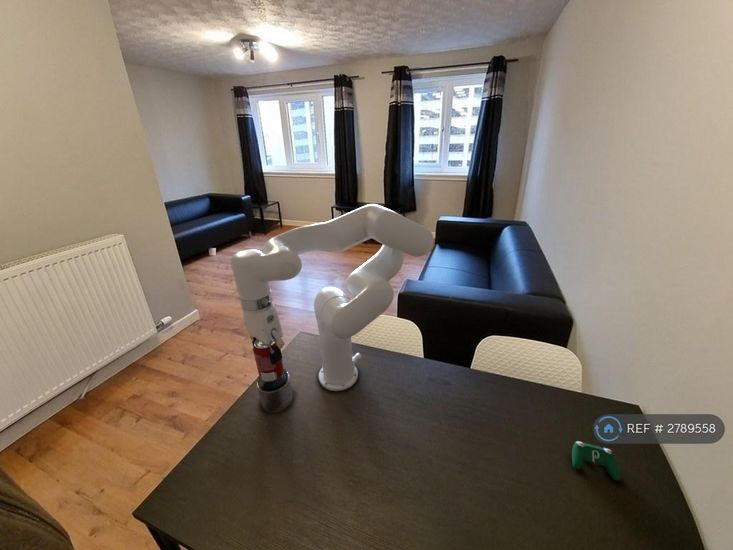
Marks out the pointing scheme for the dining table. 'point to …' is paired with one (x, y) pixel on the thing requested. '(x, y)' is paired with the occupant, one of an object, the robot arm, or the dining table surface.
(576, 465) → the gaming controller
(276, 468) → the dining table surface
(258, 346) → the soda can
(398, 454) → the dining table surface
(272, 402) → the metal cup
